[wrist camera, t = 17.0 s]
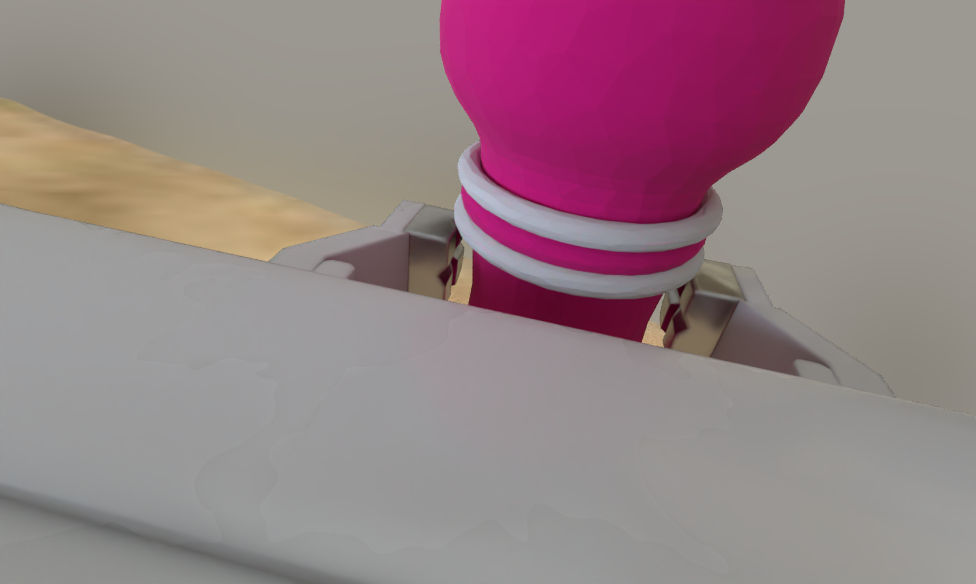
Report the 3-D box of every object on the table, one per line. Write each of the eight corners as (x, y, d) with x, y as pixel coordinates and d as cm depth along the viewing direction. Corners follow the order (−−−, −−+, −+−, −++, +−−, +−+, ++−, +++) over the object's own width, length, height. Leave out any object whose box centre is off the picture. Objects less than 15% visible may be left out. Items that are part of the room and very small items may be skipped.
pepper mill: (599, 704, 14) (1614, -724, 2) (353, 630, 14) (251, -719, 3) (603, 482, 20) (899, -229, 8) (428, 438, 20) (485, -270, 9)
